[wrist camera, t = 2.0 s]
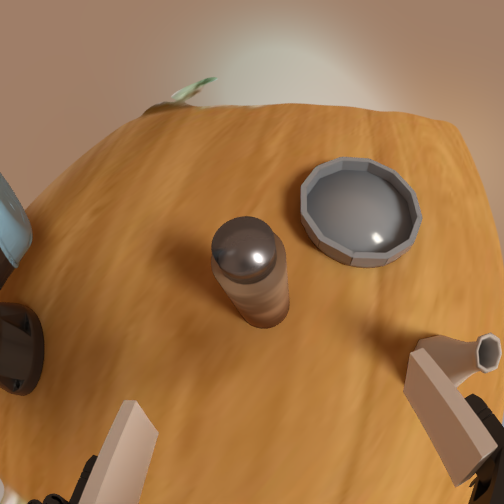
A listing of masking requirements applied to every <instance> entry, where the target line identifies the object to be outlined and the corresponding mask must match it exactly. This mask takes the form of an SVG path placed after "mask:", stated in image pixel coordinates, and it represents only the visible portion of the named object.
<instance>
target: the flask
mask: <svg viewBox="0 0 504 504" xmlns="http://www.w3.org/2000/svg"><path fill="white" fill-rule="evenodd" d="M421 348H424V349H425V350H426V352H427V353H428V354H429V355H430V356H431V358H432V359H433V360H434V361H435V362H436V364H437V365H438V366H439V367H440V368H441V370H442V371H443V372H444V373H445V375H446V376H447V377H448V378H449V380H450V381H451V382H452V383H453V385H454V386H455V387H456V388H457V387H458V386H459V385H460V384H461V383H462V382H464V381H465V380H466V379H467V378H468V377H470V376H471V375H472V374H474V373H476V372H478V371H481V372H483V373H488V372H490V371H492V370H495V369H497V367H498V364H499V361H500V358H501V354H502V353H501V345H500V339H499V338H498V337H496V336H495V335H493V334H492V333H488V334H485V335H482V336H479V337H478V338H477V341H476V342H464V341H460V340H456V339H452V338H449V337H446V336H443V335H437V336H433V337H429V338H424V339H419V341H418V344H417V346H416V348H415V350H414V351H416V350H418V349H421Z"/></svg>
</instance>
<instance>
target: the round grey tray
mask: <svg viewBox="0 0 504 504" xmlns="http://www.w3.org/2000/svg"><path fill="white" fill-rule="evenodd" d="M421 221H422V214H421V210H420V207H419V203H418V200H417V196H416V193H415V191H414V190H413V189H412V188H411V187H410V186H409V185H408V183H407V182H406V181H405V180H404V179H403V178H402V177H401V176H400V175H399V174H398V173H397V172H395V170H393V169H391V168H389V167H386V166H384V165H382V164H380V163H378V162H376V161H373V160H371V159H367V158H353V157H339V158H337V159H334V160H331V161H329V162H326V163H323V164H321V165H318V166H316V167H315V168H314V170H313V171H312V172H311V173H310V175H309V176H308V177H307V179H306V180H305V181H304V182H303V184H302V185H301V223H302V224H303V226H304V228H305V231H306V233H307V234H308V236H309V238H310V239H311V240H312V242H313V243H314V244H315V245H316V246H317V247H318V248H319V249H320V250H321V251H322V252H323V253H325V254H326V255H327V256H329V257H331V258H332V259H334V260H336V261H338V262H340V263H343V264H346V265H349V266H353V267H359V268H375V267H380V266H385V265H387V264H389V263H391V262H393V261H395V260H397V259H398V258H399V257H401V256H402V255H403V254H404V253H406V252H407V251H409V249H410V248H411V246H412V245H413V243H414V241H415V239H416V236H417V233H418V230H419V227H420V224H421Z"/></svg>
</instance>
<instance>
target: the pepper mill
mask: <svg viewBox="0 0 504 504" xmlns="http://www.w3.org/2000/svg"><path fill="white" fill-rule="evenodd" d="M211 247H212V257H211V267H212V271H213V274H214V276H215V278H216V279H217V281H218V282H219V284H220V285H221V286H222V288H223V289H224V291H225V292H226V294H227V295H228V297H229V298H230V299H231V301H232V302H233V304H234V305H235V306H236V308H237V309H238V311H239V312H240V313H241V315H242V316H243V318H244V319H245V320H246V321H247V322H248V323H249V324H250V325H252V326H254V327H257V328H271V327H274V326H276V325H278V324H279V323H281V322H282V321H283V320H284V318H285V317H286V315H287V313H288V310H289V290H288V276H287V263H286V252H285V248H284V245H283V243H282V241H281V240H280V238H279V237H278V236H277V235H276V234H275V233H274V232H272V230H271V228H270V227H269V226H268V225H267V224H266V223H265V222H264V221H262V220H260V219H258V218H255V217H248V216H245V217H238V218H234V219H232V220H230V221H228V222H226V223H225V224H223V225H222V226H221V227H220V228H219V229H218V230H217V232H216V233H215V235H214V237H213V240H212V246H211Z"/></svg>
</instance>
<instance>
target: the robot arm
mask: <svg viewBox="0 0 504 504" xmlns="http://www.w3.org/2000/svg"><path fill="white" fill-rule="evenodd" d="M32 238H33V233H32V228H31V224H30V222H29V219H28V217H27V215H26V213H25V211H24V209H23V207H22V206H21V203H20V202H19V200H18V198H17V197H16V195H15V193H14V192H13V190H12V189H11V187H10V186H9V184H8V183H7V181H6V180H5V178H4V177H3V176H2V174H1V173H0V290H1V288H2V287H3V285H4V283H5V282H6V280H7V279H8V277H9V276H10V274H11V273H12V272H13V270H14V269H15V268H18V266H19V262H20V260H21V259H22V257H23V256H24V255H25V253H26V252H27V250H28V249H29V247H30V245H31V243H32ZM43 359H44V339H43V332H42V327H41V324H40V321H39V319H38V317H37V315H36V314H35V313H34V312H33V311H32V310H31V309H29V308H27V307H25V306H23V305H21V304H17V303H6V302H0V388H2V389H3V390H5V391H7V392H9V393H11V394H15V395H21V396H24V395H27V394H29V393H31V392H32V391H33V389H34V388H35V387H36V385H37V383H38V381H39V378H40V375H41V371H42V366H43ZM403 392H404V394H405V396H406V397H407V399H408V401H409V402H410V404H411V406H412V408H413V409H414V411H415V413H416V414H417V416H418V418H419V420H420V421H421V423H422V425H423V427H424V428H425V430H426V432H427V434H428V436H429V437H430V439H431V441H432V443H433V445H434V447H435V449H436V450H437V452H438V454H439V456H440V458H441V460H442V462H443V464H444V466H445V468H446V470H447V472H448V473H449V475H450V477H451V480H452V482H453V484H454V486H455V488H456V487H457V486H459V485H461V484H462V483H464V482H465V481H467V480H468V479H470V478H471V477H472V476H473V475H474V474H475V473H476V474H477V477H476V478H475V479H474V480H473V481H472V482H471V484H470V486H469V487H472V486H473V485H474V484H475V485H474V488H473V491H472V494H471V497H470V500H469V503H468V504H504V427H503V426H502V424H501V423H500V422H499V420H498V419H497V418H496V416H495V415H494V414H492V411H491V410H490V409H489V408H488V406H487V405H486V403H485V402H484V401H483V400H482V399H481V398H480V397H478V396H476V395H474V394H471V395H469V396H468V397H466V398H463V396H462V395H461V394H460V392H459V391H458V390H457V388H456V387H455V386H454V385H453V383H452V382H451V381H450V380H449V378H448V377H447V376H446V375H445V373H444V372H443V371H442V370H441V368H440V367H439V366H438V365H437V364H436V362H435V361H434V360H433V359H432V358H431V356H430V355H429V354H428V353H427V352H426V350H425V349H424V348H421V349H418V350H416V351H413V352H411V353H410V356H409V362H408V368H407V374H406V380H405V385H404V390H403ZM158 434H159V433H158V431H157V430H156V429H155V427H154V426H153V424H152V423H151V422H150V420H149V419H148V417H147V416H146V414H145V413H144V411H143V410H142V408H141V407H140V405H139V404H138V402H137V401H136V400H124V401H123V403H122V405H121V407H120V409H119V411H118V414H117V416H116V418H115V420H114V422H113V424H112V426H111V428H110V431H109V433H108V435H107V437H106V439H105V442H104V444H103V446H102V448H101V451H100V453H99V455H98V456H95V455H93V456H92V457H91V458H90V459H89V460H88V461H87V462H86V464H85V467H84V469H83V472H82V473H81V476H80V477H81V478H79V480H78V483H77V485H76V487H75V490H74V492H73V494H72V497H71V499H70V501H69V502H68V501H66V500H65V499H64V498H62V497H61V496H60V495H57V494H50V495H48V496H46V498H45V499H44V501H43V503H41V502H40V501H39V500H35V499H34V500H31V501H29V502H28V504H138V503H139V500H140V496H141V492H142V489H143V485H144V481H145V478H146V474H147V471H148V467H149V464H150V460H151V457H152V454H153V450H154V447H155V443H156V440H157V437H158Z"/></svg>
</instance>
